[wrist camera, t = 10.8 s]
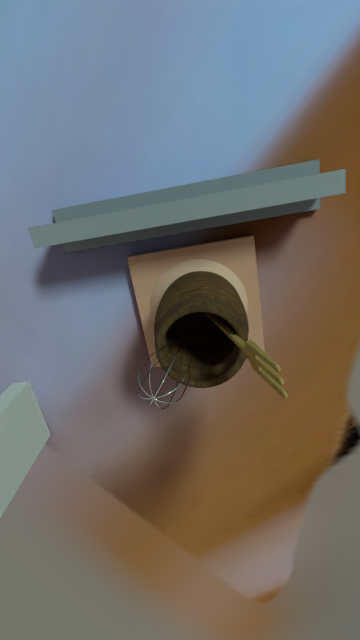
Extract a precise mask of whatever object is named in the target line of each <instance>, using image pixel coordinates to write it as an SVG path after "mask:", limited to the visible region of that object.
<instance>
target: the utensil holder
mask: <svg viewBox="0 0 360 640" xmlns="http://www.w3.org/2000/svg"><path fill="white" fill-rule="evenodd" d="M248 333H249V324H248V318H247V314H246V311H245V308H244V305H243V303H242V300H241V298H240V296H239V294H238V292H237V291H236V289H235V288H234V286H233V285H232V284H231V283H230V282H229V281H228V280H226V279H225V278H224V277H222V276H220V275H218V274H216V273H212V272H208V271H195V272H190V273H187V274H184V275H182V276H180V277H179V278H177V279H176V280H175V281H174V282H172V283H171V284H170V286H169V287H168V288H167V290H166V291H165V293H164V295H163V297H162V299H161V301H160V304H159V306H158V309H157V312H156V316H155V321H154V336H155V352H156V357H157V359H158V362H159V363H160V365H161V367H162V368H163V370H164V371H165V372H166V373H167V374H168V375H169V376H170V377H171V378H173V379H174V380H175V381H177V385H178V382H179V383H181V384H184V385H186V387H187V386H190V387H196V388H207V387H213V386H217V385H220V384H222V383H224V382H226V381H228V380H229V379H230V378H232V377H233V376H234V375H235V374H236V373H237V372H238V371H239V370H240V368H241V367H242V365H243V363H244V361H245V358H246V355H247V357H248V359H249V361H250V363H251V366H252V368H253V369H254V370H255V371H256V372H257V373H258V374H259V375H260V376H261V377H262V378H263V379H264V380H265V381H266V382H267V383H268V384H269V385H270V386H271V387H273V388H274V389H275V390H276V391H277V392H278V393H279V394H280V395H281V396H282V397H283V398H284V399H286V398H288V395H287V393H286V391H285V390H284V389H283V388H282V387H281V386H282V385H284V380H283V379H282V378H281V377H280V376H279V375H278V374H277V373H276V372H279V371H280V370H281V369H280V366H279V365H278V364H277V363H276V362H275V361H274V360H273V359H272V358H271V357H270V356H269V355H268V354H267V353H265V352H264V351H263V350H262V349H261V348H260V347H259V346H258V345H257V344H256V343H255V342H253V341H252V340H251V339H250V340H248ZM155 352H154V353H155ZM154 353H153V354H154ZM153 354H151V355H153ZM151 355H150V356H151ZM150 356H149V357H150ZM149 357H148V359H149ZM156 357H155V359H156ZM148 359H147V360H148ZM155 359H154V360H153V362H152V365H153V363H154V361H155ZM147 360H146V361H147ZM146 361H145V363H146ZM158 362H157V363H158ZM145 363H144V365H145ZM157 363H156V364H157ZM156 364H155V365H156ZM144 365H143V366H144ZM152 365H151V368H150V370H149V372H150V373H151V369H152V368H153V367H154V366H155V365H154V366H153V367H152ZM143 366H142V368H143ZM271 367H272V368H273V369H274V370H275V371H276V372H275V371H274V370H273V369H272V368H271ZM142 368H141V370H142ZM141 370H140V372H141ZM140 372H139V375H140ZM149 372H148V373H149ZM148 373H147V375H148ZM150 373H149V384H150ZM166 373H165V374H166ZM165 374H164V376H165ZM167 374H166V376H167ZM139 375H138V381H139ZM147 375H146V376H147ZM146 376H145V378H146ZM164 376H163V378H164ZM166 376H165V378H166ZM145 378H144V380H145ZM163 378H162V380H163ZM165 378H164V380H165ZM144 380H143V381H142V383H143V382H144ZM162 380H161V382H162V383H161V382H160V384H161V385H160V384H159V386H160V387H161V386H162V384H163V382H164V380H163V381H162ZM142 383H141V384H140V381H139V384H140V387H141V388H142V386H141V385H142ZM181 384H180V385H181ZM279 384H280V385H281V386H280V385H279ZM177 385H176V388H175V389H174V390H175V391H176V389H177V388H178V387H179V386H180V385H179V386H178V387H177ZM159 386H158V388H159V389H160V387H159ZM140 387H139V390H140ZM186 387H185V390H186ZM158 388H157V390H158V391H159V389H158ZM139 390H138V394H139ZM142 390H143V391H144V389H143V388H142ZM150 390H151V384H150ZM157 390H156V392H155V394H154V396H153V393H152V390H151V394H152V396H153V397H152V396H150V395H149V394H148V393H146V392H145V391H144V392H145V393H146V394H147V395H148V396H150V397H151V398H143V397H141V396H140V394H139V396H140V397H141V398H143V399H152V400H151V402H150V404H149V406H150V405H151V403H152V402H153V400H154V401H155V400H157V399H156V398H160V397H163V396H166V395H168V394H170V393H172V392H173V391H174V390H173V391H171V392H170V393H168V394H165V395H163V396H160V397H155V396H156V395H157V393H158V391H157ZM185 390H184V392H185ZM175 391H174V393H175ZM184 392H183V394H184ZM174 393H173V395H174ZM183 394H182V396H183ZM173 395H172V398H173ZM182 396H181V397H180V398H179V399H178V400H180V399H181V398H182ZM172 398H171V400H172ZM171 400H170V402H163V401H160V400H157V401H159V402H163V403H169V404H170V403H174V402H177V401H178V400H176V401H174V402H171ZM155 403H156V401H155ZM169 404H168V405H169ZM156 405H157V406H158V407H159V408H161V407H160V406H159V405H158V404H157V403H156ZM168 405H167V406H166V407H165V408H167V407H168ZM165 408H161V409H165Z"/></svg>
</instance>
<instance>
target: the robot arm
mask: <svg viewBox="0 0 360 640" xmlns="http://www.w3.org/2000/svg"><path fill="white" fill-rule="evenodd" d="M49 437H50V432H49V430H48V427H47V425H46V422H45V420H44V417H43V415H42V412H41V410H40V407H39V405H38V402H37V400H36V397H35V395H34V392H33V390H32V387H31V385H30V382H22V383H14V384H11V385H10V386H9V387H8V388H7V389H6V390H5V391H4V392H3V393H2V394H1V395H0V518H1V516H2V515H3V513H4V511H5V510H6V508H7V506H8V505H9V503H10V501H11V500H12V498H13V496H14V495H15V493H16V491H17V490H18V488H19V487H20V485H21V483H22V482H23V480H24V478H25V476H26V475H27V473H28V472H29V470H30V468H31V467H32V465H33V463H34V462H35V460H36V458H37V457H38V455H39V454H40V452H41V450H42V449H43V447H44V445H45V444H46V442H47V440H48V439H49Z"/></svg>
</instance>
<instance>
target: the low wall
mask: <svg viewBox="0 0 360 640" xmlns="http://www.w3.org/2000/svg"><path fill="white" fill-rule="evenodd" d="M343 193H345V169H343V170H337V171H332V172H326V173H321V174H320V166H319V159H318V160H313V161H308V162H303V163H297V164H292V165H287V166H282V167H276V168H271V169H266V170H261V171H255V172H250V173H245V174H240V175H235V176H229V177H224V178H219V179H214V180H208V181H203V182H198V183H193V184H187V185H182V186H177V187H172V188H167V189H161V190H156V191H151V192H146V193H140V194H135V195H130V196H125V197H119V198H114V199H109V200H104V201H98V202H93V203H88V204H83V205H78V206H72V207H67V208H62V209H57V210H52V212H53V216H54V219H55V222H56V223H53V224H47V225H42V226H36V227H31V228H28V229H29V232H30V235H31V238H32V241H33V245H34V248H40V247H45V246H51V245H56V244H62V246H63V250H64V253H70V252H75V251H81V250H87V249H93V248H98V247H104V246H110V245H115V244H121V243H127V242H133V241H138V240H144V239H150V238H156V237H161V236H167V235H173V234H179V233H184V232H190V231H196V230H202V229H207V228H213V227H219V226H225V225H230V224H236V223H242V222H248V221H253V220H259V219H265V218H270V217H276V216H282V215H288V214H293V213H299V212H305V211H311V210H316V209H321V206H320V197H326V196H332V195H337V194H343Z"/></svg>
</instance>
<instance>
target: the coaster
mask: <svg viewBox="0 0 360 640" xmlns="http://www.w3.org/2000/svg"><path fill="white" fill-rule="evenodd" d="M127 260H128V265H129V269H130V274H131V278H132V282H133V287H134V291H135V295H136V300H137V304H138V309H139V313H140V317H141V322H142V326H143V331H144V335H145V339H146V344H147V348H148V353H149V356H150V355H151V354H153V353H154V352H155V336H154V321H155V316H156V312H157V309H158V306H159V304H160V301H161V299H162V297H163V295H164V293H165V291H166V290H167V288H168V287H169V286H170V284H171V283H172V282H174V281H175V280H176V279H177V278H179V277H180V276H182V275H184V274H187V273H190V272H195V271H208V272H212V273H216V274H218V275H220V276H222V277H224V278H225V279H226V280H228V281H229V282H230V283H231V284H232V285H233V286H234V288H235V289H236V291H237V292H238V294H239V296H240V298H241V300H242V303H243V305H244V308H245V311H246V314H247V318H248V324H249V333H248V340H250V339H251V340H252V341H253V342H255V343H256V344H257V345H258V346H259V347H260V348H261V349H262V350H263V351H264V352H265V349H264V338H263V328H262V317H261V306H260V296H259V285H258V274H257V263H256V253H255V242H254V236H253V235H248V236H242V237H236V238H230V239H224V240H219V241H213V242H207V243H201V244H195V245H189V246H183V247H177V248H171V249H165V250H159V251H154V252H148V253H142V254H136V255H130V256H128V257H127ZM246 356H247V355H246ZM155 357H156V352H155V353H154V354H153V355H151V356H150V361H151V365H152V362H153V360H154V359H155ZM157 362H158V359H157V357H156V359H155V361H154V363H153V365H152V367H153V366H154V365H155V364H156V363H157ZM156 367H161V365H160V363H159V362H158V363H157V364H156V365H155V366H154V367H153V368H156Z"/></svg>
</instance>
